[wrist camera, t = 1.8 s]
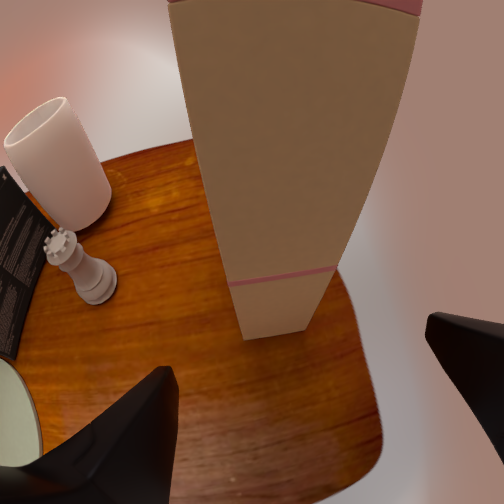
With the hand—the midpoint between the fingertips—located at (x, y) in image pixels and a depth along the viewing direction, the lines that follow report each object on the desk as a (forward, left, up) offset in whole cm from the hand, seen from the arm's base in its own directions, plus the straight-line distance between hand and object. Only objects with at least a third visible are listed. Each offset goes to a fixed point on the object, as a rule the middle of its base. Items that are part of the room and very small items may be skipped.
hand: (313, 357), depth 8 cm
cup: (+26, +11, -13) cm, 32 cm away
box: (+20, +24, -13) cm, 34 cm away
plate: (+5, +31, -13) cm, 35 cm away
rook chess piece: (+15, +11, -13) cm, 23 cm away
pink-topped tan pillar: (+6, -2, -13) cm, 15 cm away
